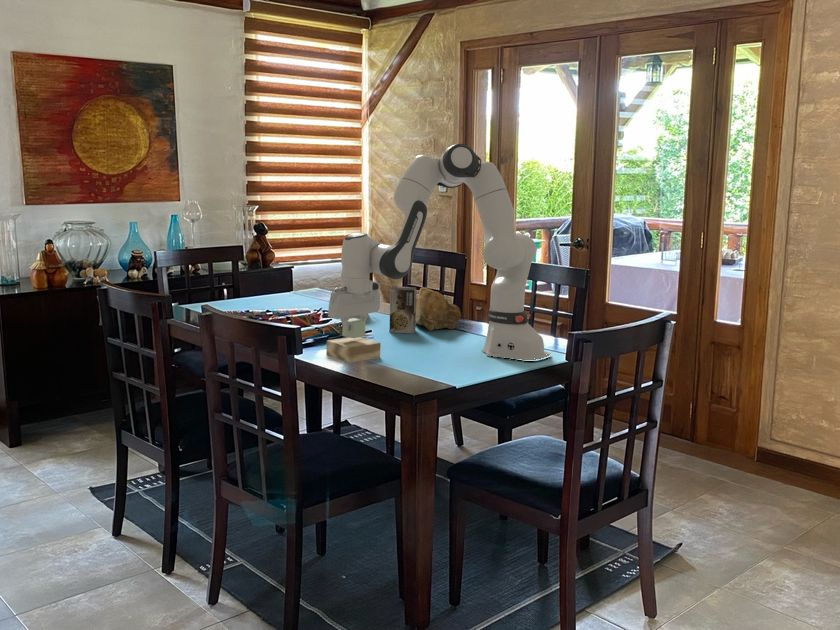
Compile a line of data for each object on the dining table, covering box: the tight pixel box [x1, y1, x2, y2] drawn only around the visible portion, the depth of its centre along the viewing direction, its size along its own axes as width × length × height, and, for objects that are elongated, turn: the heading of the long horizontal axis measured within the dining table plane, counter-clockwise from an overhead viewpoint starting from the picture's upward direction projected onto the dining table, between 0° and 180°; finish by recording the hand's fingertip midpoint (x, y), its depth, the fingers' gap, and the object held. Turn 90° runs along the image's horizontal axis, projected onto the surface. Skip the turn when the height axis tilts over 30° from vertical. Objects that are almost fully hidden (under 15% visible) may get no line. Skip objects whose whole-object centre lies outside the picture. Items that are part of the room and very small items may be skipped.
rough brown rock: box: [415, 286, 462, 331], centre depth 308 cm, size 23×17×15 cm
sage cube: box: [341, 318, 366, 338], centre depth 257 cm, size 5×5×5 cm
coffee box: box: [389, 286, 417, 334], centre depth 298 cm, size 9×6×16 cm
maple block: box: [326, 337, 381, 363], centre depth 259 cm, size 12×12×5 cm
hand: (354, 329), depth 257 cm, fingers closed on sage cube, 5 cm apart
